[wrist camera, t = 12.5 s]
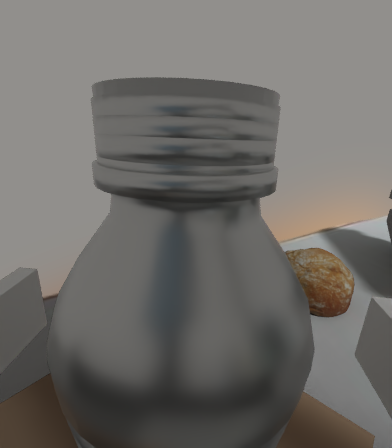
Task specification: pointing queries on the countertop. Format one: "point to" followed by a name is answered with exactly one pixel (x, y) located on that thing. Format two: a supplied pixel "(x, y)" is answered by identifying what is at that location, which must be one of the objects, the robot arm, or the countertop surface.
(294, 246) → the countertop surface
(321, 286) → the bread roll
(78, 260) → the plastic bottle
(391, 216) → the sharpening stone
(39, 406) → the notched board
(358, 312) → the countertop surface
